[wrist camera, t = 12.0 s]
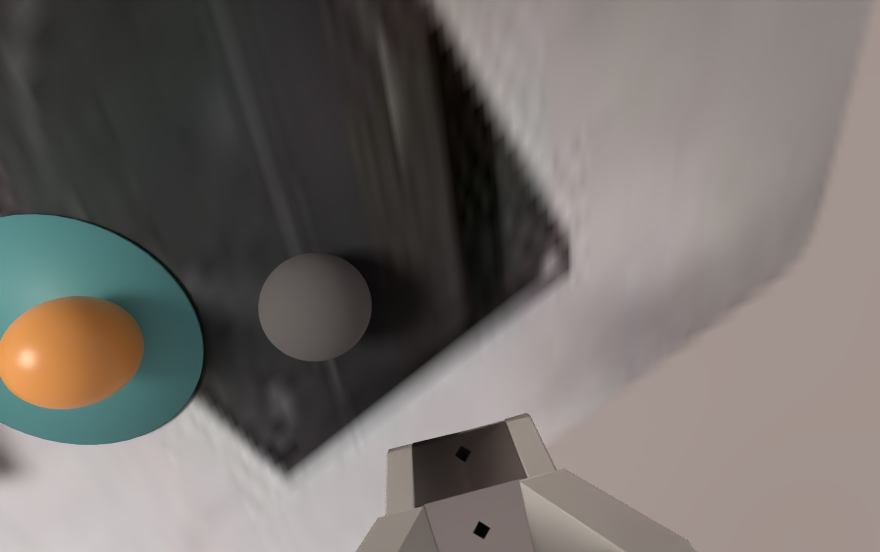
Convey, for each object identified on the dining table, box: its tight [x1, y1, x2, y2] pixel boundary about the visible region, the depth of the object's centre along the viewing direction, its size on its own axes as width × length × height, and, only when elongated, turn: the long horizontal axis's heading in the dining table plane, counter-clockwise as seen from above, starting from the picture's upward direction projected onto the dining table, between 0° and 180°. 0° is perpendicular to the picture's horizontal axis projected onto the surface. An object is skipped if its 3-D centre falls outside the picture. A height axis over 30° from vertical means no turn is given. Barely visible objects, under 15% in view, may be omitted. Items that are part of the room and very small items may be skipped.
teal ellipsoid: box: [0, 214, 204, 445], centre depth 23 cm, size 14×14×1 cm
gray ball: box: [258, 252, 372, 361], centre depth 22 cm, size 6×6×6 cm
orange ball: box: [0, 296, 144, 409], centre depth 21 cm, size 6×6×6 cm
